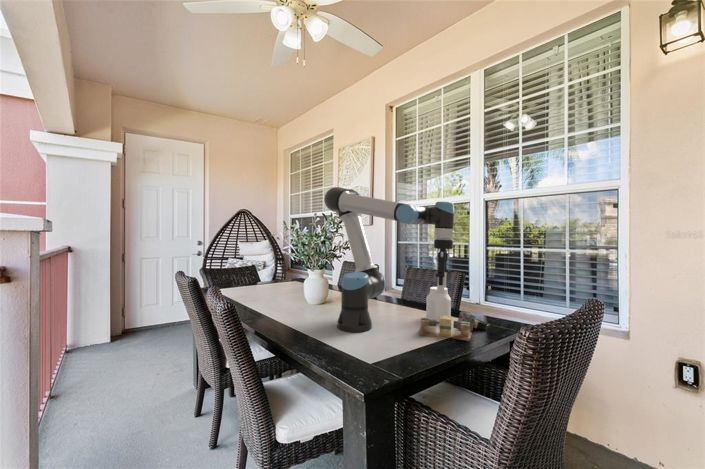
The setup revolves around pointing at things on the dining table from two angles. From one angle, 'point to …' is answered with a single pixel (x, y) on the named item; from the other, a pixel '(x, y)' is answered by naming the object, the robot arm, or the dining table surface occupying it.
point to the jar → (438, 304)
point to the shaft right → (462, 330)
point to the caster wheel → (472, 321)
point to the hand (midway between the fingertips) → (441, 290)
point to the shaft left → (425, 327)
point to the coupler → (445, 326)
